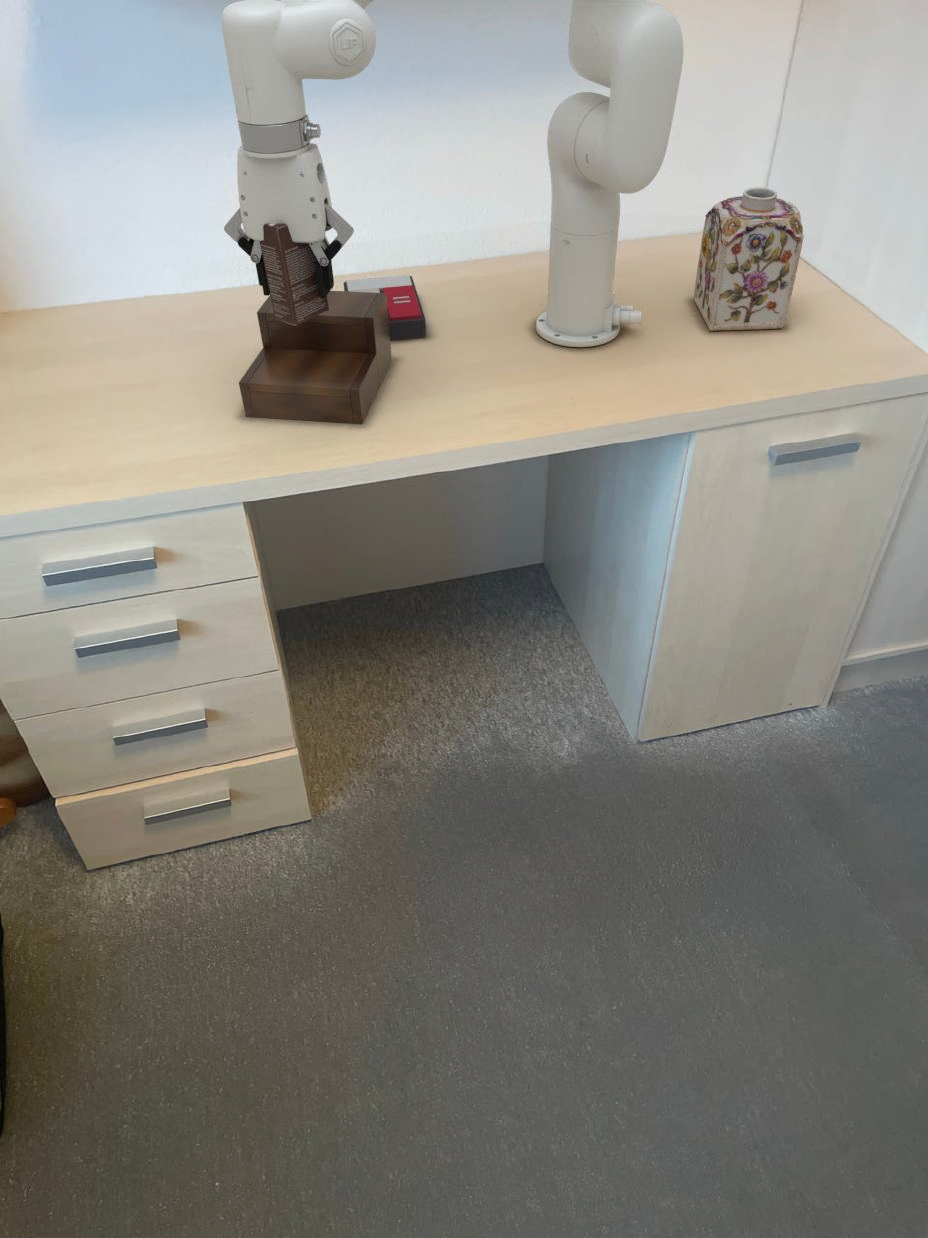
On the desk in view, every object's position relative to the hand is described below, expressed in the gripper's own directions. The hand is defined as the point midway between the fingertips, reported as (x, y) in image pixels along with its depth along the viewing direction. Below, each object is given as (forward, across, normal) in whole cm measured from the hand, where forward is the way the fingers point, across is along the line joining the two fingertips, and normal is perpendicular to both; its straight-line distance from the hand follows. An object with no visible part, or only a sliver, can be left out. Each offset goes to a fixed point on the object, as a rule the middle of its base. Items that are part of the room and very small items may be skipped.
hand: (297, 291), depth 113 cm
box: (+3, 0, 0) cm, 3 cm away
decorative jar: (+15, -58, -34) cm, 69 cm away
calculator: (+15, -4, -26) cm, 31 cm away
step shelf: (+15, 0, -5) cm, 16 cm away
